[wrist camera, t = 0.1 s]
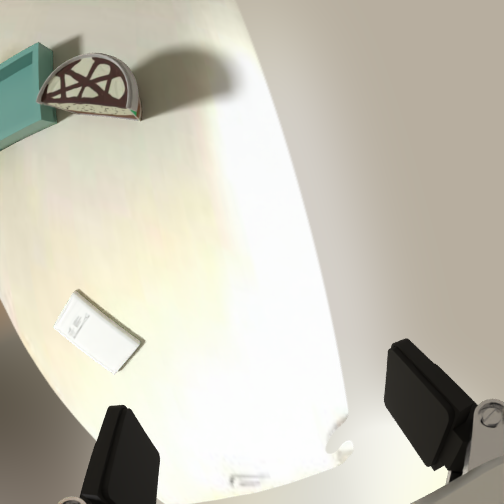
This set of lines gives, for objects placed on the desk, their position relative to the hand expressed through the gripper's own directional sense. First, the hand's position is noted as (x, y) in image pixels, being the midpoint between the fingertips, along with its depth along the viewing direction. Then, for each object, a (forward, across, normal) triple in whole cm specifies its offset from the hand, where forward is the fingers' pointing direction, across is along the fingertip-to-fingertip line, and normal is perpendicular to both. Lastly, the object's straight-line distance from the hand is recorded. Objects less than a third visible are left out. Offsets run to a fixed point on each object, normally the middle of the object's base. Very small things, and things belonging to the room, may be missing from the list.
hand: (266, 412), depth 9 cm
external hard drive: (+32, +23, +11) cm, 41 cm away
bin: (+31, +29, -26) cm, 50 cm away
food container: (+31, +11, -21) cm, 39 cm away
